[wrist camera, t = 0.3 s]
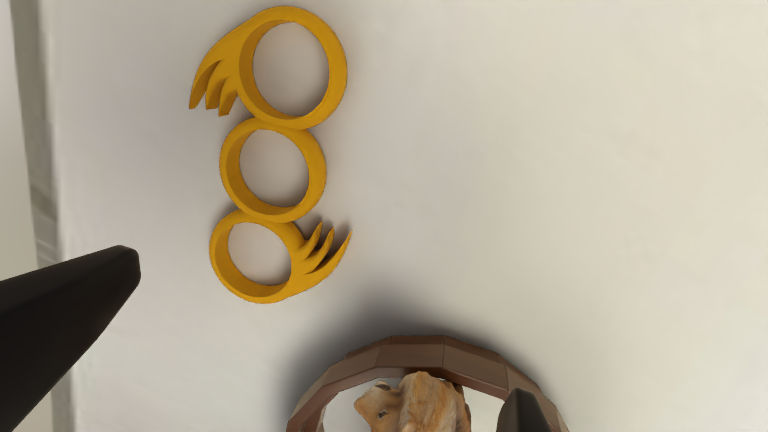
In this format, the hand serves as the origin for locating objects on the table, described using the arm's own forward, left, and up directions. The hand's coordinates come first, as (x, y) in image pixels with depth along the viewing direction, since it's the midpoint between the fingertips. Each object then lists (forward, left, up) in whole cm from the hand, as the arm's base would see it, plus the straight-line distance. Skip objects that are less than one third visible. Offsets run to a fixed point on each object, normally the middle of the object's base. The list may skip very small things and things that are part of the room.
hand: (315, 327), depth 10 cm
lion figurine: (-6, -13, -15) cm, 21 cm away
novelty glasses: (-6, +4, -15) cm, 17 cm away
